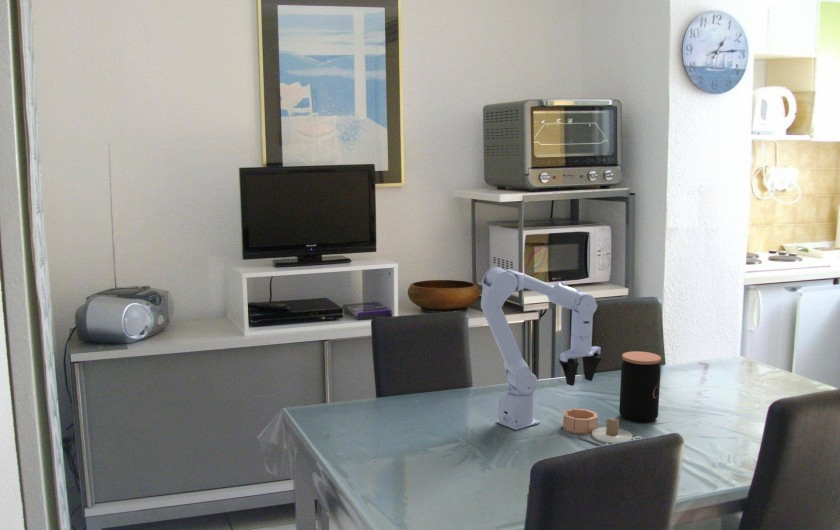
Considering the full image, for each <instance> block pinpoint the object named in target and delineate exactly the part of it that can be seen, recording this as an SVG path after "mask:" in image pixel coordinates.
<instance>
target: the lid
mask: <svg viewBox="0 0 840 530" xmlns="http://www.w3.org/2000/svg"><path fill="white" fill-rule="evenodd" d="M619 428H620V419H619V418H617V417H613V416H612V417H611V416H610V417H607V418H606V426H604V427H597V429H594V430H593V431H592V437H593V438H594V439H596V440H598V441H600V442H604V443H609V444H612V443H618V442H623V441H629V440H632V434H631V433H630V432H631V431H629V430H627V429H623V428H621V429H619ZM628 431H629V432H628Z"/></svg>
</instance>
